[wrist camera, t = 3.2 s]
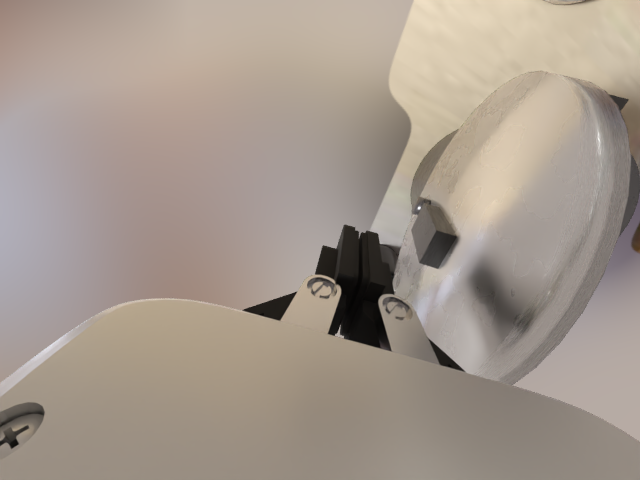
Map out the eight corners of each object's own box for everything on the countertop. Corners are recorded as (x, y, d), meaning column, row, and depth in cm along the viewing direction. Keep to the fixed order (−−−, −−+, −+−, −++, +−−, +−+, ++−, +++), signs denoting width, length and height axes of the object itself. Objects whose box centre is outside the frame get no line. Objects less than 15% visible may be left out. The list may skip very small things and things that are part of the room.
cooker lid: (487, 93, 20) (454, 85, 20) (945, 8, 4) (751, -29, 4) (399, 271, 30) (377, 264, 30) (419, 469, 13) (371, 450, 13)
